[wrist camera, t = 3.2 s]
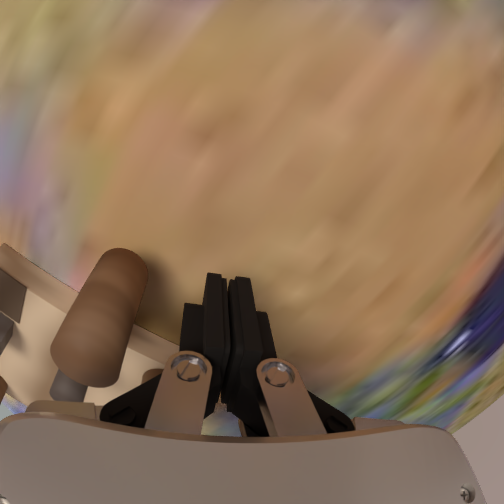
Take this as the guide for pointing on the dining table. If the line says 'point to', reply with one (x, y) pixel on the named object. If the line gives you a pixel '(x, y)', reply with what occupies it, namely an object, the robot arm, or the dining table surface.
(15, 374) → the stool
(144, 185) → the dining table surface
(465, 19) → the dining table surface
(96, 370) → the hinged leg
